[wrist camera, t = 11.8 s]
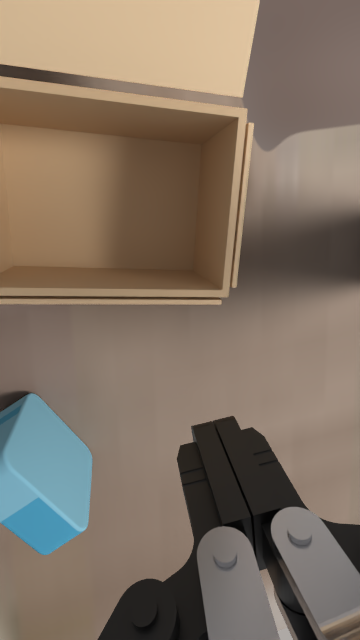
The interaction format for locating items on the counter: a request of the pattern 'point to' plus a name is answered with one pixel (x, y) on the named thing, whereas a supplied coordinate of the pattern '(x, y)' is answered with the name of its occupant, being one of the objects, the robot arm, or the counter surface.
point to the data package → (42, 476)
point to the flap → (134, 40)
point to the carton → (118, 196)
